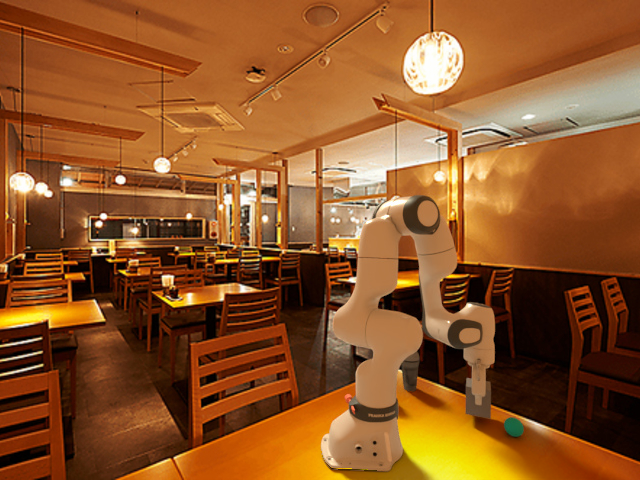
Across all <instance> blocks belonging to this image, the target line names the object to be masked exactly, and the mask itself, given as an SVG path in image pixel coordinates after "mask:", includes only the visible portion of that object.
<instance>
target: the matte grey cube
mask: <svg viewBox="0 0 640 480" xmlns="http://www.w3.org/2000/svg"><path fill="white" fill-rule="evenodd" d="M465 380H466V383H465V415H469V416H473V417H474V416H475V417H480V418H485V419H489V420H490V419H492V418H491V417H492V414H491V413H492V387H491V386H492V385H491V381H488V380H486V390H485V396H484V397H482V405H476V404H475V395H473V394H472V377H471V378H469V377H466V379H465Z"/></svg>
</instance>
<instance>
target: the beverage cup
mask: <svg viewBox="0 0 640 480" xmlns="http://www.w3.org/2000/svg"><path fill="white" fill-rule="evenodd" d="M420 360H421V358H420V355H419V352H418V350H417V351H416V352H415V353H413V354H412V355H410V356H408V357H407V358H406V359H405V360H404V361H403V362H402V363H401V365H400V366H401V374H402V384H403V389H404V390H405V391H406V390H407V392H410V391H412V392H415V391H416V390H417V384H418V374H419V373H418V372H419V365H420Z"/></svg>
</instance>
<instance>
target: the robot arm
mask: <svg viewBox="0 0 640 480" xmlns="http://www.w3.org/2000/svg"><path fill="white" fill-rule="evenodd" d="M440 211H441V210H440V209H439V206H438V204H437V202H436V201H435V200H434V199H433V198H432V197H430V196H428V195H424V194H423V195H422V194H416V195H412V196H398V197H396V198H392V199H388V200H385V201H383V202H381V203H379V204H378V205H377V206H376V207H375V209H374V210H373V213H372V217H371V219H368V220H367V221H365V222H364V224H363V225H362V228H361V232H360V236H359V243H358V251H357V267H356V268H357V269H356V279H355V284H354V288H353V292H352V294H351V295H350V297H349V299H348V301H347V302H346V303H345V304H343V305H342V306H341V307H339V308H338V309H337V311H336V312H335V314H334V315H333V319H332V331H333V334H334V336H335V337H336V338H337V339H339V340H340V341H343V342H344V343H347V344H349V345H352V346H355V347H356V346H357V347H361V348H365V349H369V350H372V358H370V359H367V360H365V361H363V362H360V364H359V365H358V366H357V368H356V371H355V395H354V396H353V397H352V395H351V394H350V393H347V394H345V396H344V399H345V402H346V404H348V409H347V410H345V411H344V412H343V413H342V414H341V415H339V416H337V417H336V418H334V420H332V422H331V424H330V427H329V433H325V434H324V435H323V437H322V439H321V443H320V451H322V453H321V456H322V455H323V457H322V459H323V458H324V459H323V461H324V460H325V461H324V463H325V462H326V463H327V464H328V465H329V466H330V467H332V468H352V469H368V470H377V471H376V472H389V471H391V469H392V467H393V465H394V464H395V462H397V461H398V460H400V459H401V457H402V455H403V453H404V449H403V445H402V441H401V437H400V431H399V425H398V420H399V411H400V410H399V399H398V398H397V383H398V375H399V374H398V373H399V370H400V368H401V366H402V365H401V363H402V362H403V361H404V360H405V359H406V358H407V357H408V356H410V355H412V354H413V353H415V352H416V351H417V352H418V350H419V349H420V347H421V345H422V343H423V339H424V338H423V337H424V334H425V335H426V336H427V337H428V338H431V339H434V340H436V341H438V342H441V343H443V344H445V345H447V346H449V347H452V348H454V349H457V350H463V359H464V360H465V361H466V362H467V365H468V366H470V367H471V379H472V394H473V395H475V404H476V405H482V397H484V396H485V390H486V381H487V380H486V378H487V375H486V373H487V372H486V369H489V368H490V366H491V365H493V364H494V363H495V357H496V356H495V354H496V351H495V350H496V349H495V346H496V345H495V342H494V337H495V334H496V333H495V332H496V321H495V314H494V313H495V312H494V310H493V308H492V307H491V306H489V305H488V304H483V303H479V302H473V301H469V302H466V305H465V306H464V307H463V308H462V309H460V311H457V312H455V313H452V312H449V311H448V310H447V309H446V308H445V307H444V306H443V304H442V303H443V301H442V295H441V288H440V285H441V283H440V282H441V280H443V279H445V278H448V277H449V276H451V274H453V273H454V272H455V270H456V268H457V266H458V254H457V250H456V246H455V242H454V238H453V235H452V233H451V230H450V228H449V225H448V223H447V221H446V219H445V217H444V216H443V215H442V214H441V212H440ZM402 236H410V237H411V238H412V240H413V241H414V247H415V251H416V256H417V259H418V260H417V262H418V266H419V267H418V285H419V291H420V299H421V305H422V318H421V323H420V321H419V320H418V319H417V317H415V316H412V315H410V314H407V313H404V312H401V311H396V310H389V309H381V308H379V307H378V306H379V302H380V301H381V300H380V299H381V298H383V297H384V296H385V297H386V296H387V295H389V294H391V293H393V292H394V291H395V289H396V288H397V286H398V276H399V243H400V240H401V238H402ZM326 463H325V464H326ZM327 464H326V465H327ZM328 465H327V466H328ZM329 466H328V467H329ZM330 467H329V468H330Z"/></svg>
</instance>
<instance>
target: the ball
mask: <svg viewBox="0 0 640 480" xmlns="http://www.w3.org/2000/svg"><path fill="white" fill-rule="evenodd" d="M503 428H504V430H505V431H506V433H507V434H508V435H510V436H511V437H515V438H518V437H521V436H522V435H523V433H524V425H523V423H522V422H521V420H520V419H518V418H517V417H514V416H513V417H512V416H511V417H507V418H506V419H505V420H504V423H503Z"/></svg>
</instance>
